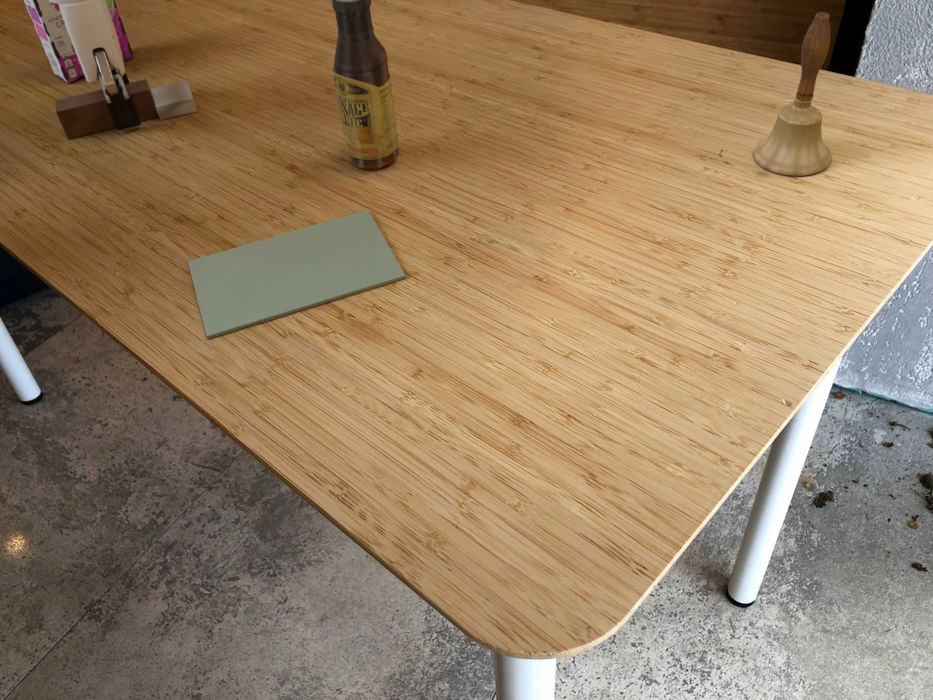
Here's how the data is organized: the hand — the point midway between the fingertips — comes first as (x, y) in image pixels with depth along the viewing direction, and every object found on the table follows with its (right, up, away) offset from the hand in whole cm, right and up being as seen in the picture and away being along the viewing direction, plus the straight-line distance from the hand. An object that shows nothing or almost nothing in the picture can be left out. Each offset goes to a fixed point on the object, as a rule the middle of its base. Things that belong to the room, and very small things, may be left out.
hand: (126, 113), depth 114 cm
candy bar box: (-10, +11, +14) cm, 20 cm away
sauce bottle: (+35, -9, -12) cm, 38 cm away
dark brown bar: (+1, 0, +1) cm, 1 cm away
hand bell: (+82, -10, -19) cm, 85 cm away
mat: (+28, -24, -27) cm, 46 cm away
